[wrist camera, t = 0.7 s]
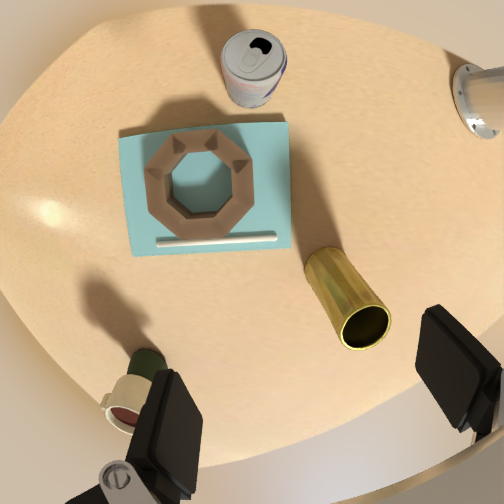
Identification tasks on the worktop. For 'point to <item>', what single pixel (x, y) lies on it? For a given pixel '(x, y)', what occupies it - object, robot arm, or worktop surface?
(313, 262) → the vase
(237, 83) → the energy drink
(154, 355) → the character mug
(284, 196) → the teal rectangular slab
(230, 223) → the brown octagonal ring
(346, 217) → the worktop surface
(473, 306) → the worktop surface
